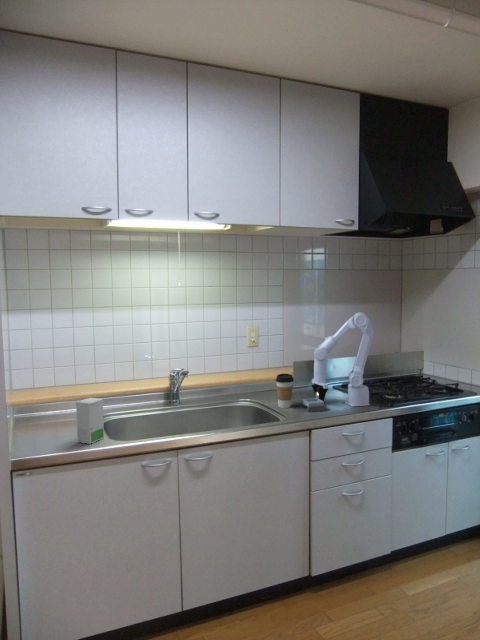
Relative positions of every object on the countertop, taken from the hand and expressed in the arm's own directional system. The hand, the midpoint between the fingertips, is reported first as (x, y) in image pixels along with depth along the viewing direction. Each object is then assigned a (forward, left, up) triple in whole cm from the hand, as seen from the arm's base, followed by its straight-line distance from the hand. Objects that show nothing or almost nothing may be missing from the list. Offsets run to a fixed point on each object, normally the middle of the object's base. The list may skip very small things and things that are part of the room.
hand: (319, 400), depth 234 cm
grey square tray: (+7, +8, -1) cm, 11 cm away
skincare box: (+105, +26, -2) cm, 109 cm away
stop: (+7, +13, -1) cm, 14 cm away
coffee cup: (+18, +1, -2) cm, 19 cm away
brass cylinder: (0, 0, -1) cm, 1 cm away
